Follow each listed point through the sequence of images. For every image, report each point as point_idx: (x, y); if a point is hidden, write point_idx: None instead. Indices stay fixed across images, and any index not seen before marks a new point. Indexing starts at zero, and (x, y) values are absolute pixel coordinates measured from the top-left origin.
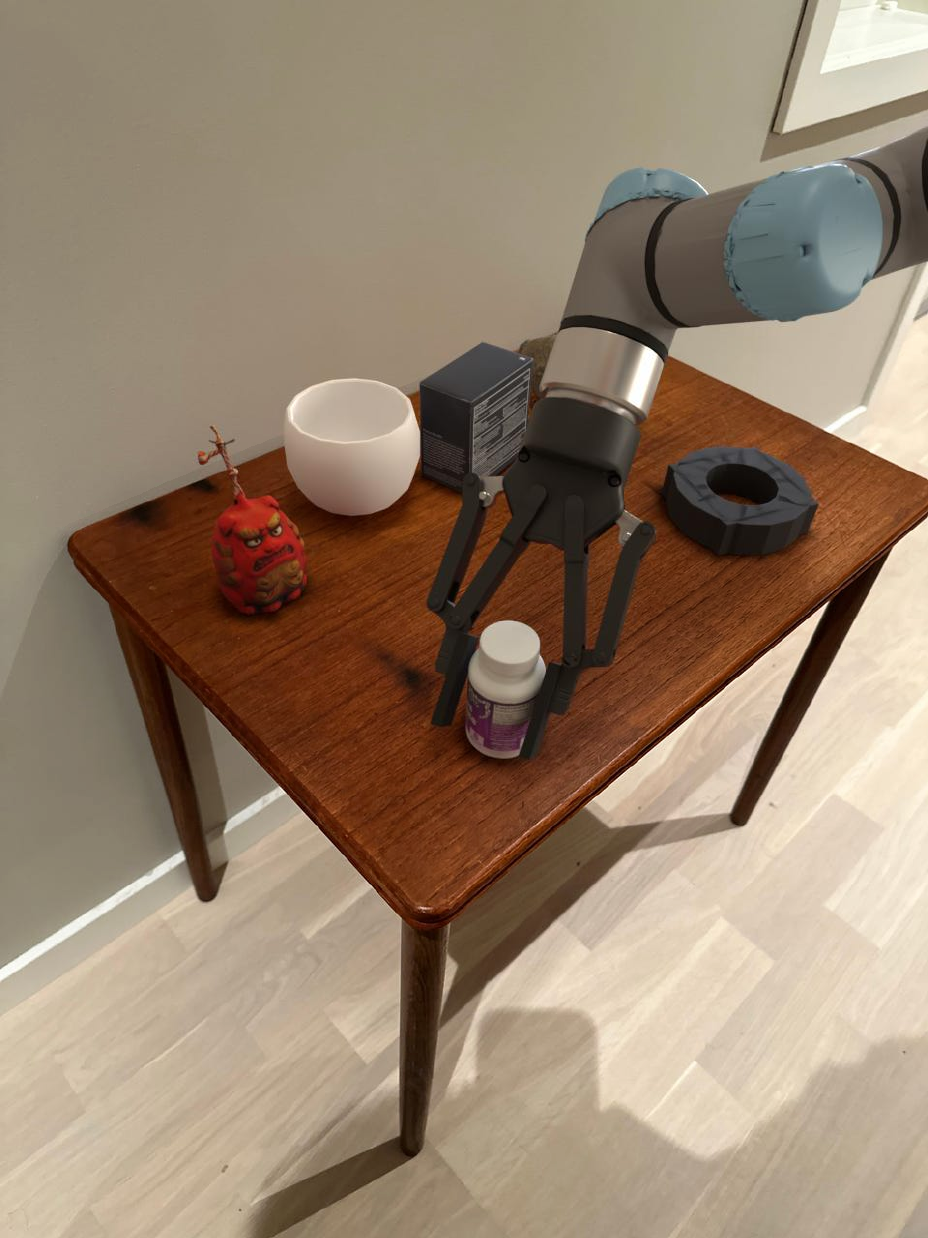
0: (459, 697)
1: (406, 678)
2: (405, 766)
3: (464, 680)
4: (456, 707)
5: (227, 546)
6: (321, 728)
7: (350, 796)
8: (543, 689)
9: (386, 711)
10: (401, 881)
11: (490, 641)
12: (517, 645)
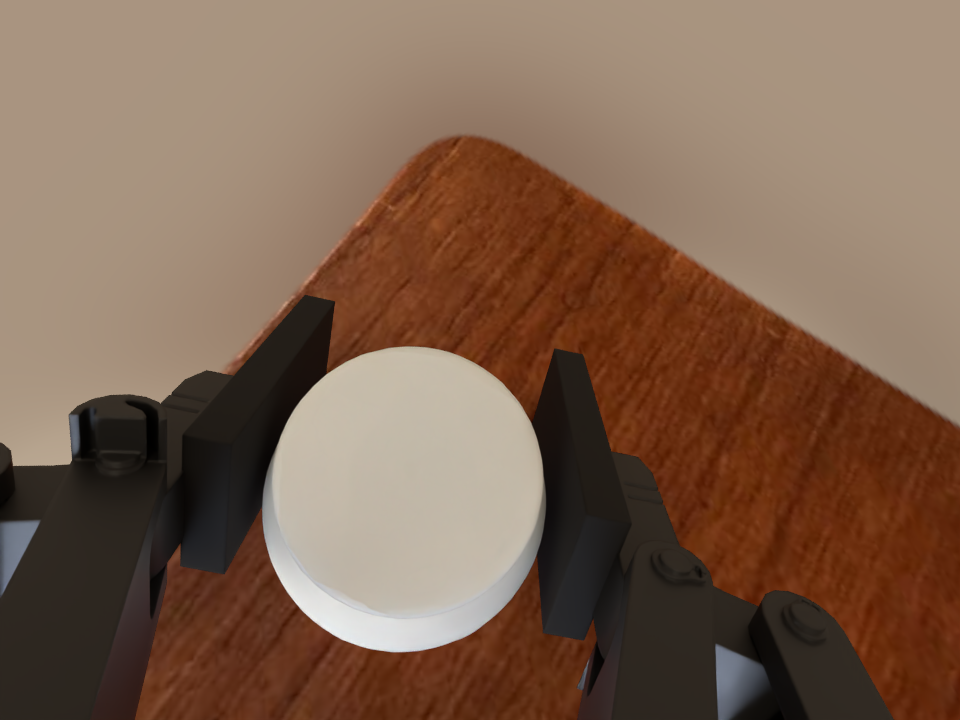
0: None
1: None
2: (590, 378)
3: None
4: None
5: None
6: (793, 434)
7: (665, 290)
8: (259, 387)
9: (685, 518)
10: (517, 154)
11: (495, 445)
12: (374, 449)
